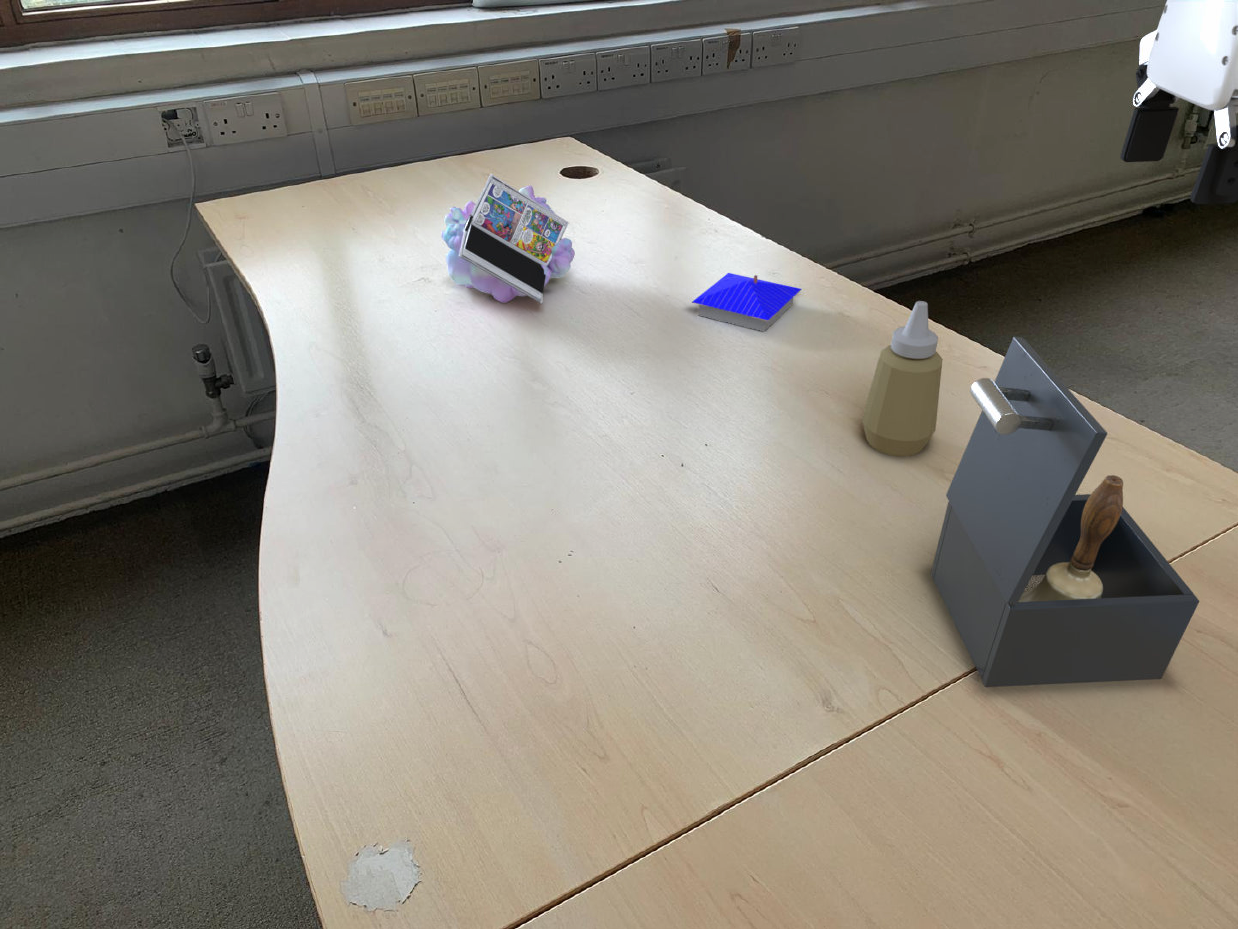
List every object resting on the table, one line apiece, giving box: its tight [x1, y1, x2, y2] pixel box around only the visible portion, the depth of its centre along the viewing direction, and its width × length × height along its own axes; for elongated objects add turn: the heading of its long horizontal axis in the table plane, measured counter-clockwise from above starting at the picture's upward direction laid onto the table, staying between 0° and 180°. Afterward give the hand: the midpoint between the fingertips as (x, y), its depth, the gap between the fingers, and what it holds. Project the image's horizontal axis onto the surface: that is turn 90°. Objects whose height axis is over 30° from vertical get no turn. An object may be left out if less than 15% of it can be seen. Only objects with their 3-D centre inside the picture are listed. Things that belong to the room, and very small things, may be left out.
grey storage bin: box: [930, 493, 1200, 688], centre depth 76 cm, size 15×14×10 cm
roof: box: [691, 272, 803, 332], centre depth 131 cm, size 12×12×5 cm
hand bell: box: [1019, 474, 1124, 602], centre depth 74 cm, size 8×8×16 cm
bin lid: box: [945, 336, 1108, 605], centre depth 68 cm, size 16×14×5 cm
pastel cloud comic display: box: [440, 173, 576, 304], centre depth 137 cm, size 20×22×18 cm
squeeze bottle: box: [861, 300, 943, 457], centre depth 98 cm, size 8×8×18 cm
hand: (1174, 180), depth 67 cm, fingers open, 9 cm apart
